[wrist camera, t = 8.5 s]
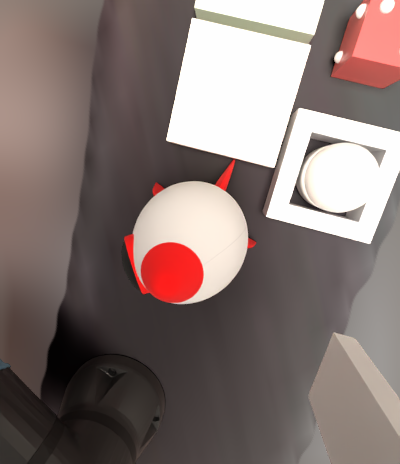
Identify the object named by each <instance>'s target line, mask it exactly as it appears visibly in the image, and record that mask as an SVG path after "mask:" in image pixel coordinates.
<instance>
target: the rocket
mask: <svg viewBox="0 0 400 464" xmlns="http://www.w3.org/2000/svg"><path fill="white" fill-rule="evenodd" d="M234 164H235V160H233V161H232V162H231V163H230V165H229V166H228V167H227V169H226V170H225V171H224V173H223V174H222V175H221V177H220V178H219V180H218V181H217V182H216V184H215V185H212V184H210V183H206V182H200V181H189V182H182V183H178V184H174V185H172V186H169V187H167V188H166V189H165V188H163V187H162V186H161V185H159V184H158V183H157V182H156V183H155V185H154V188H153V195H154V197H153V198H152V199H151V200H150V201H149V202H148V203H147V205H146V206H145V207H144V208H143V210H142V211H141V213H140V215H139V217H138V219H137V221H136V224H135V227H134V230H133V234H131V235H128V236H125V237H124V242H123V246H122V261H123V266H124V270H125V272H126V274H127V276H128V278H129V280H130V282H131V283H132V284H133V285H134V287H135V288H136V289H138V290H139V291H141V292H142V294H146V293H149V292H150V293H151V294H152V295H153V296H154V297H156V298H157V299H159V300H161V301H164V302H168V303H174V304H190V303H195V302H199V301H202V300H205V299H207V298H209V297H212V296H214V295H215V294H217V293H218V292H220V291H221V290H222V289H224V288H225V287H226V286H227V285H228V284H229V283H230V282H231V281H232V280H233V278H234V277H235V276H236V274H237V273H238V271H239V270H240V268H241V266H242V264H243V261H244V258H245V256H246V252H247V248H252V247H253V246H254V245H255V244H256V242H255V241H254V240H252V239H250V238H248V229H247V224H246V220H245V217H244V215H243V213H242V210H241V209H240V207H239V205H238V204H237V202H236V201H235V200H234V199H233V198H232V197H231V196H230V195H229V194H228V193H227V192H226V189H227V186H228V183H229V180H230V177H231V174H232V170H233V167H234Z"/></svg>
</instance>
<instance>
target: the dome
mask: <svg viewBox="0 0 400 464" xmlns="http://www.w3.org/2000/svg"><path fill="white" fill-rule="evenodd" d="M379 178H380V171H379V166H378V163H377V161H376V159H375V158H374V156H373V155H372V154H371V153H370V152H369V151H368V150H367V149H365V148H364V147H361V146H359V145H356V144H353V143H336V144H332V145H328V146H325V147H321V148H318V149H316V150H314V151H312V152H311V153H309V154H308V155H307V156H306V157H305V158H304V159H303V161H302V164H301V167H300V170H299V173H298V176H297V180H296V185H297V189H298V191H299V193H300V195H301V196H302V198H303V199H304V200H305V201H306V202H308V203H309V204H311V205H313V206H316V207H318V208H321V209H323V210H326V211H330V212H337V213H340V212H348V211H351V210H354V209H357V208H359V207H360V206H362V205H363V204H365V203H366V202H367V201H368V200H369V199H370V198H371V197H372V196H373V194H374V193H375V191H376V189H377V187H378V183H379Z"/></svg>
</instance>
